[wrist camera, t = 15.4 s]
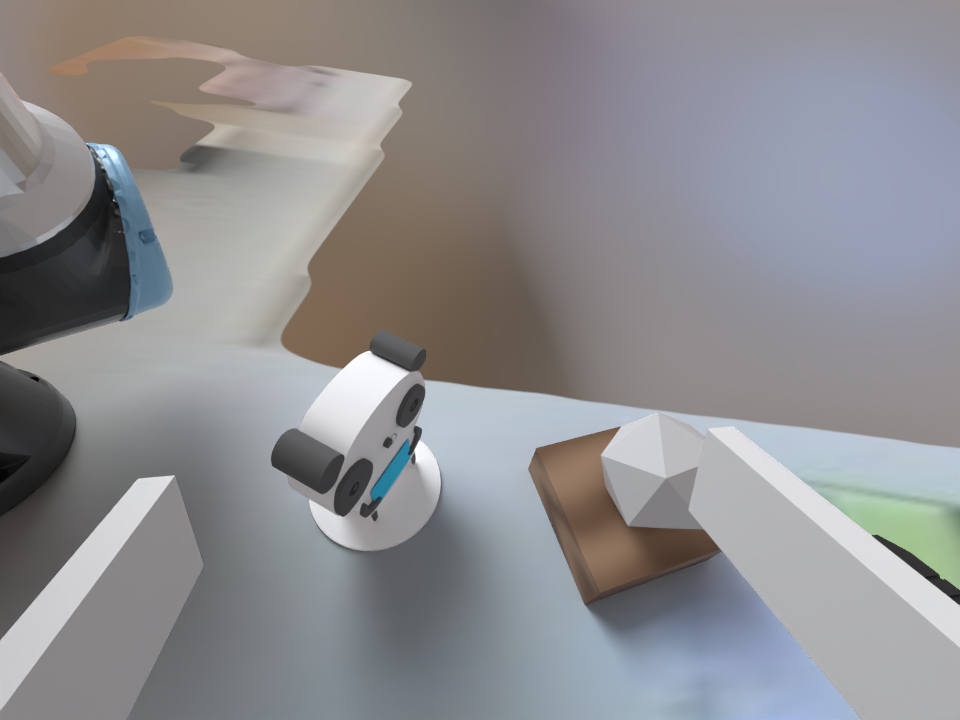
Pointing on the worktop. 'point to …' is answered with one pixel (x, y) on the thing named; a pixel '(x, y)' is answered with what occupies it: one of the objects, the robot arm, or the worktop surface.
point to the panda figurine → (366, 450)
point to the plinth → (605, 523)
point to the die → (653, 472)
